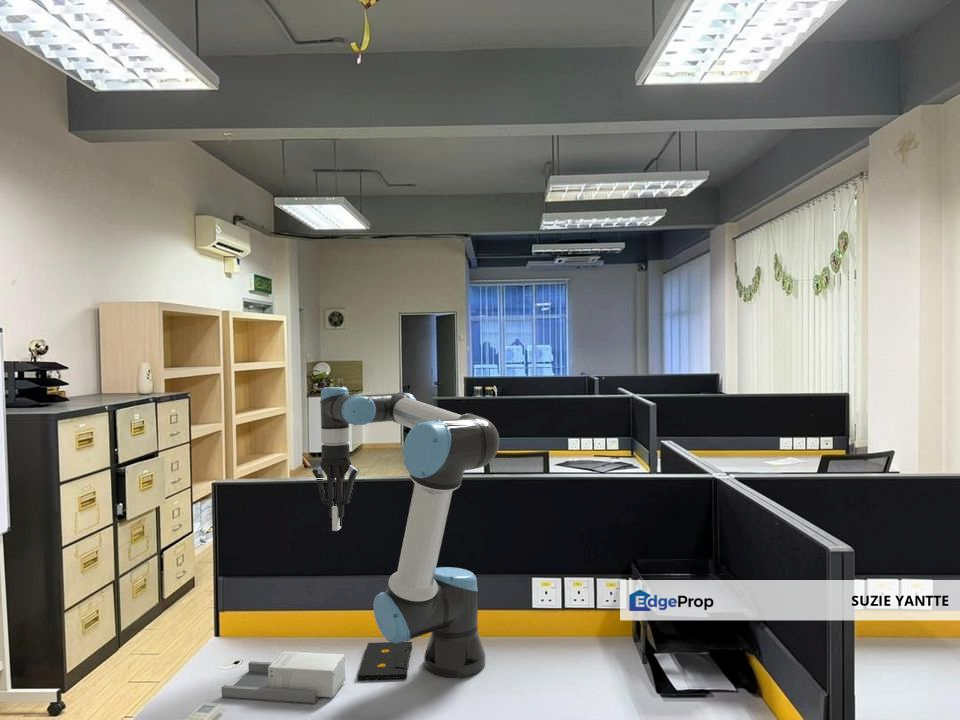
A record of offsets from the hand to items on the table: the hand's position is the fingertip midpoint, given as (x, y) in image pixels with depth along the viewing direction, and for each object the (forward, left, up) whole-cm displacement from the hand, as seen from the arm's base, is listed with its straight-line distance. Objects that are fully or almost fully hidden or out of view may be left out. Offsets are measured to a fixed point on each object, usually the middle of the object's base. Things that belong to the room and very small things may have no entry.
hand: (336, 529), depth 181 cm
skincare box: (+4, +29, -26) cm, 39 cm away
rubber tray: (+3, +28, -29) cm, 41 cm away
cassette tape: (-18, +14, -30) cm, 38 cm away
